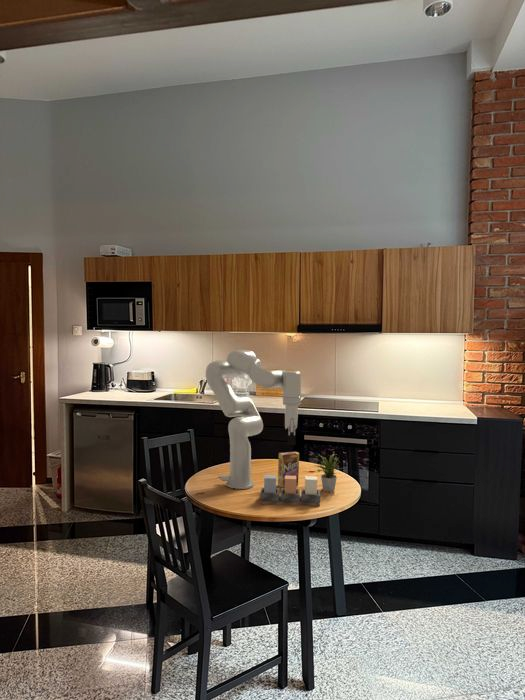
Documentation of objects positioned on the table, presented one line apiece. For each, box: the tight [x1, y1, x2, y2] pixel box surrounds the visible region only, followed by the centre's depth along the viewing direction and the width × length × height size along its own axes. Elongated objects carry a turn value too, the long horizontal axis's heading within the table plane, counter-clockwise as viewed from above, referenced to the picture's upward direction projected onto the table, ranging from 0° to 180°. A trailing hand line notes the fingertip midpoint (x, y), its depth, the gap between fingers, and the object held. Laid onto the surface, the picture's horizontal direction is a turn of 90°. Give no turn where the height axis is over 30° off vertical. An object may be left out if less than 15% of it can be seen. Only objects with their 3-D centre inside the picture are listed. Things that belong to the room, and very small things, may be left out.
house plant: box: [313, 453, 343, 493], centre depth 226 cm, size 14×14×16 cm
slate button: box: [263, 474, 277, 493], centre depth 210 cm, size 5×5×7 cm
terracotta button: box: [284, 475, 297, 494], centre depth 209 cm, size 5×5×7 cm
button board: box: [259, 487, 321, 507], centre depth 209 cm, size 25×10×4 cm, turn 87°
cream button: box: [304, 475, 318, 495], centre depth 209 cm, size 5×5×7 cm
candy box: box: [277, 451, 300, 488], centre depth 230 cm, size 9×4×15 cm, turn 115°
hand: (291, 444), depth 209 cm, fingers closed
